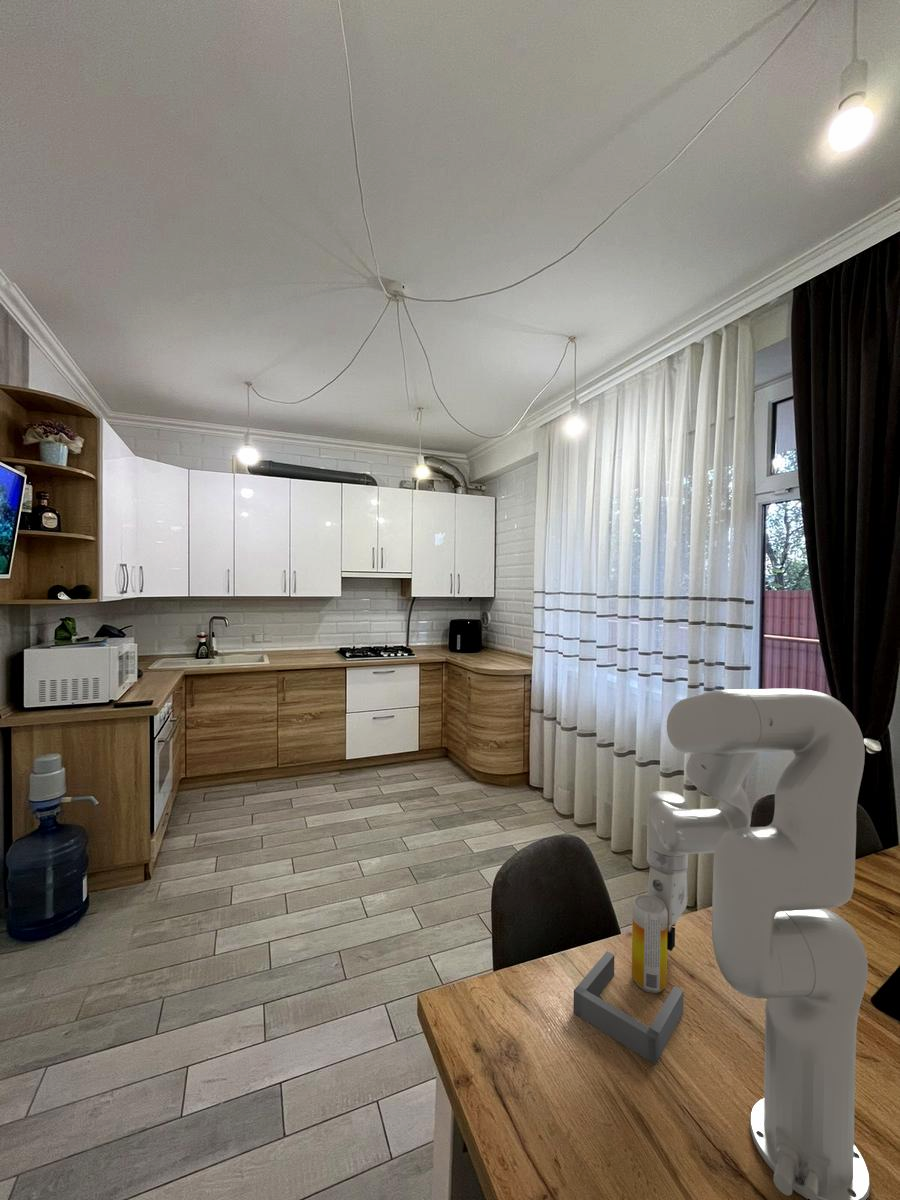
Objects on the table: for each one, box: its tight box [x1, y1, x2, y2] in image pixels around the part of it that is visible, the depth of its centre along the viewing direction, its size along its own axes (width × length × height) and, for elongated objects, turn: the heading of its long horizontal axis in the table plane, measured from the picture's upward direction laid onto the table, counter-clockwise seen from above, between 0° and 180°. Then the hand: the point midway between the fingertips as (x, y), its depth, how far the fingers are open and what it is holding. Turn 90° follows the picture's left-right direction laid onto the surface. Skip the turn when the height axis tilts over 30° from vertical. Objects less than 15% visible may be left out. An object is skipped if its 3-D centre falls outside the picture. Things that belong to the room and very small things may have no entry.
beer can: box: [631, 894, 668, 994], centre depth 93 cm, size 6×6×15 cm
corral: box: [572, 950, 684, 1066], centre depth 86 cm, size 13×14×4 cm
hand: (665, 945), depth 100 cm, fingers closed
